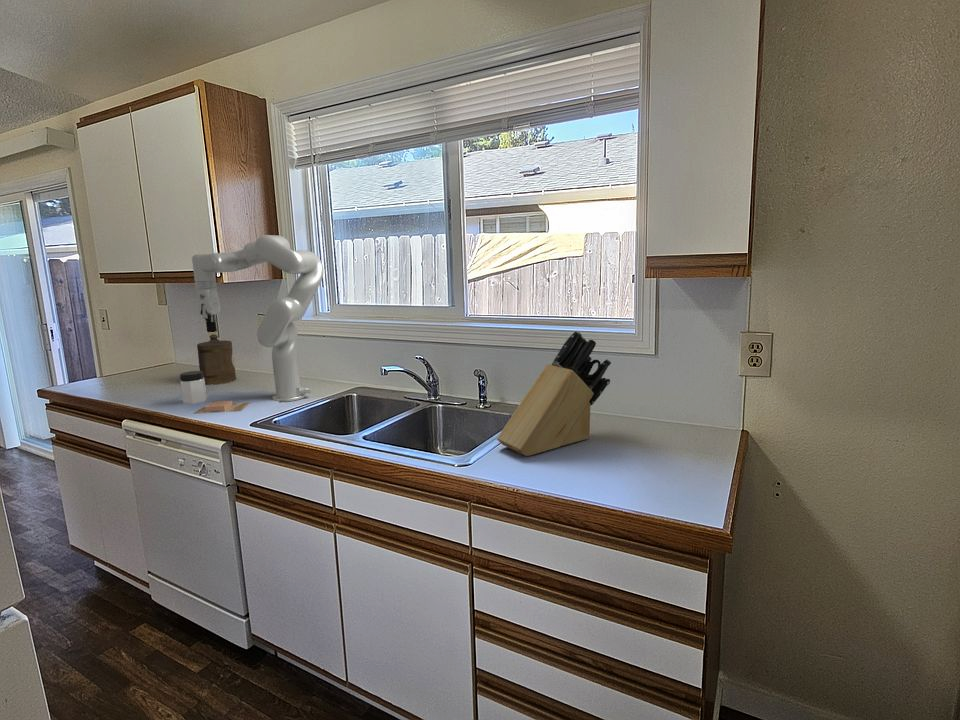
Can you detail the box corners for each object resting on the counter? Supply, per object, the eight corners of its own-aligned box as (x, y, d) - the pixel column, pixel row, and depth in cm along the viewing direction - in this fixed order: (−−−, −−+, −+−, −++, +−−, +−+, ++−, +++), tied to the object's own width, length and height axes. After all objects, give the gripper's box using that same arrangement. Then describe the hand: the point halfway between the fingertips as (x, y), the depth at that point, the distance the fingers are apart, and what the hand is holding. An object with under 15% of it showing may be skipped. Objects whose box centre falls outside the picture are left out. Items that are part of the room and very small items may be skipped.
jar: (186, 400, 223) (182, 371, 221) (208, 398, 225) (204, 369, 223) (181, 406, 215) (177, 376, 212) (204, 403, 217) (200, 374, 215)
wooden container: (243, 378, 261) (237, 332, 257) (216, 385, 248) (210, 337, 244) (220, 376, 268) (215, 331, 263) (194, 383, 254) (187, 336, 250)
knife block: (613, 433, 165) (614, 330, 159) (521, 460, 146) (518, 345, 140) (586, 424, 174) (586, 327, 169) (496, 449, 155) (492, 340, 149)
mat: (251, 403, 214) (251, 402, 214) (240, 412, 202) (240, 411, 202) (206, 406, 213) (206, 404, 213) (193, 415, 201) (192, 413, 201)
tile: (231, 400, 210) (224, 405, 202) (232, 405, 210) (224, 411, 203) (213, 401, 209) (204, 406, 202) (213, 406, 210) (205, 412, 202)
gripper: (207, 286, 212) (214, 334, 215) (223, 284, 226) (228, 328, 230) (187, 287, 211) (194, 334, 215) (204, 285, 226) (210, 329, 229)
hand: (212, 331), depth 222 cm, fingers closed
